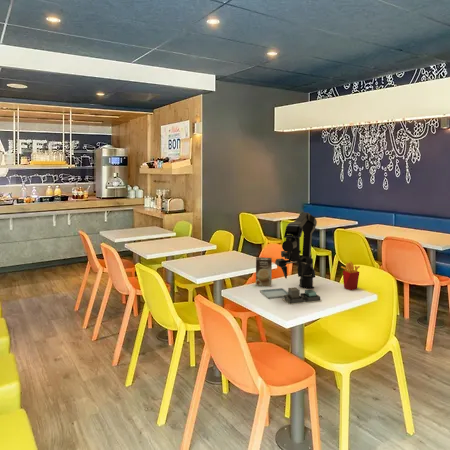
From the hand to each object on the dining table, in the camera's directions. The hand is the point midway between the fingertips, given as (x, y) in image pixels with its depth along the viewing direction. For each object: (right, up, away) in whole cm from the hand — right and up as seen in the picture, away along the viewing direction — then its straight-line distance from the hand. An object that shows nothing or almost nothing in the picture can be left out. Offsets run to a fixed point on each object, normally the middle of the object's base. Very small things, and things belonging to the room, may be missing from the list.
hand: (294, 277), depth 223 cm
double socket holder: (+3, -12, -4) cm, 13 cm away
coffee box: (-14, -8, +25) cm, 30 cm away
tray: (-9, -10, +7) cm, 15 cm away
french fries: (+33, -8, +17) cm, 38 cm away
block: (-1, -11, -6) cm, 12 cm away
